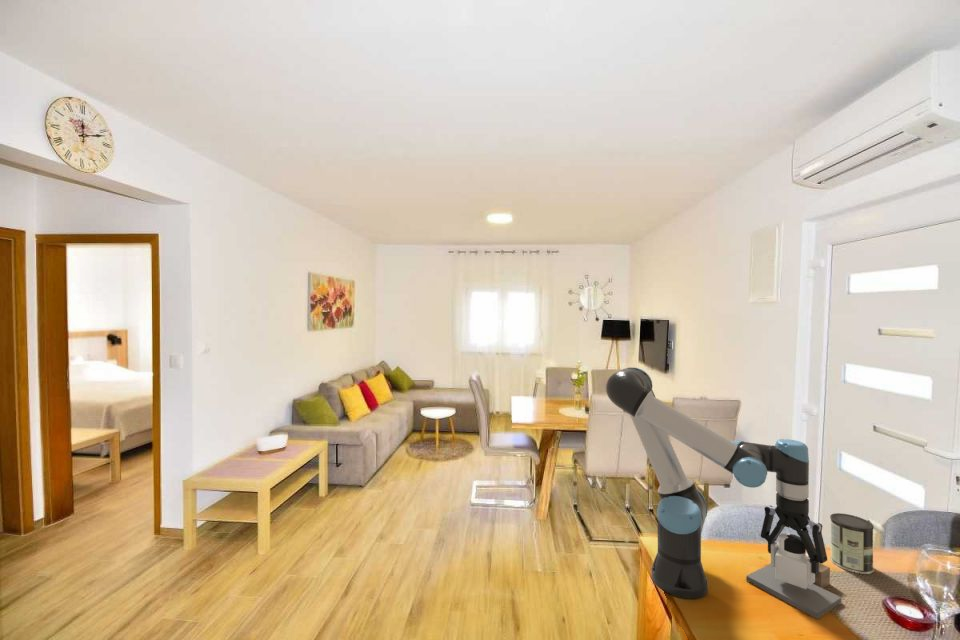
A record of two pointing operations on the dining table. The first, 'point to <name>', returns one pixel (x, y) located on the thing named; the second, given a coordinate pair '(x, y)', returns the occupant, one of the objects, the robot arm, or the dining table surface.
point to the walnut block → (822, 576)
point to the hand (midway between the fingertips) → (792, 573)
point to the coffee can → (852, 543)
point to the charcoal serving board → (795, 592)
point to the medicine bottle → (791, 561)
